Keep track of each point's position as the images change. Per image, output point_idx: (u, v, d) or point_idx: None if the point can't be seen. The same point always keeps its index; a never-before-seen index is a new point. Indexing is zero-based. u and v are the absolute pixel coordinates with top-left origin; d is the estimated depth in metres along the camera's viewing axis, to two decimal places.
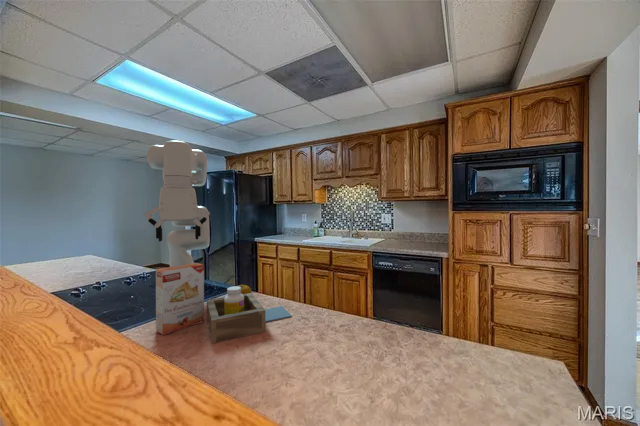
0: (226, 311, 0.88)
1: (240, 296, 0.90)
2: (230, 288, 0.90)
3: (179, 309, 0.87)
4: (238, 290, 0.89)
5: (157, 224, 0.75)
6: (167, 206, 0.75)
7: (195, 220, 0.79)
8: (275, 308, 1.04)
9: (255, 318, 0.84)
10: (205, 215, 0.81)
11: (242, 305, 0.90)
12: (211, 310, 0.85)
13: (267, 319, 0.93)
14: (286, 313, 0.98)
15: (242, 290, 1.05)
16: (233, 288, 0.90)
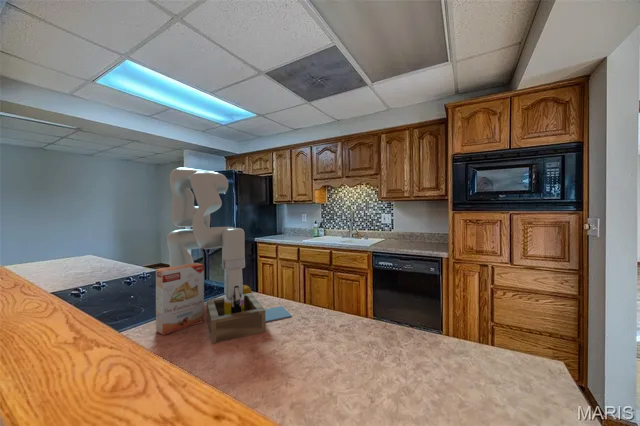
0: (226, 311, 0.88)
1: None
2: None
3: (179, 309, 0.87)
4: None
5: None
6: None
7: None
8: (275, 308, 1.04)
9: (255, 318, 0.84)
10: None
11: (242, 305, 0.90)
12: (211, 310, 0.85)
13: (267, 319, 0.93)
14: (286, 313, 0.98)
15: None
16: None
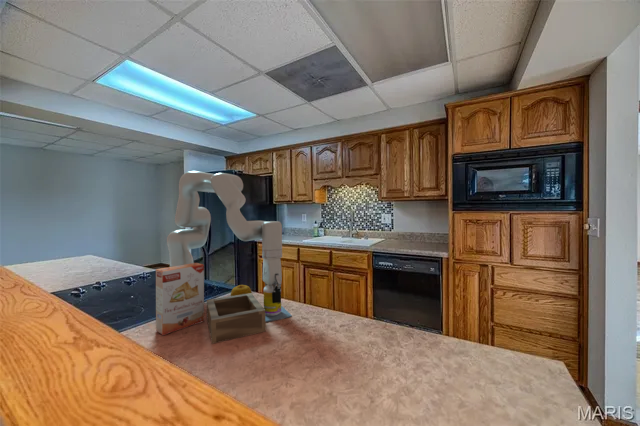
0: (266, 300, 0.96)
1: None
2: None
3: (179, 309, 0.87)
4: None
5: None
6: None
7: None
8: None
9: (255, 318, 0.84)
10: None
11: None
12: (211, 310, 0.85)
13: (267, 319, 0.93)
14: (286, 313, 0.98)
15: (242, 290, 1.05)
16: None
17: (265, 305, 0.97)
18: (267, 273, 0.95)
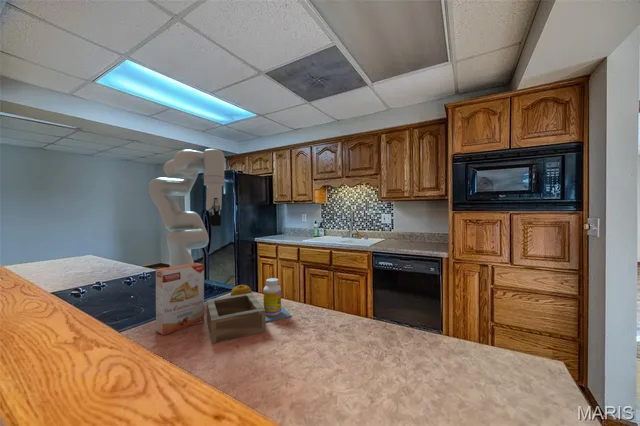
0: (266, 300, 0.96)
1: (278, 287, 0.98)
2: (268, 279, 0.99)
3: (179, 309, 0.87)
4: (276, 281, 0.98)
5: (219, 212, 0.97)
6: None
7: None
8: None
9: (255, 318, 0.84)
10: None
11: (280, 295, 0.98)
12: (211, 310, 0.85)
13: (267, 319, 0.93)
14: (286, 313, 0.98)
15: (242, 290, 1.05)
16: (271, 279, 0.99)
17: (265, 305, 0.97)
18: (207, 198, 0.98)
